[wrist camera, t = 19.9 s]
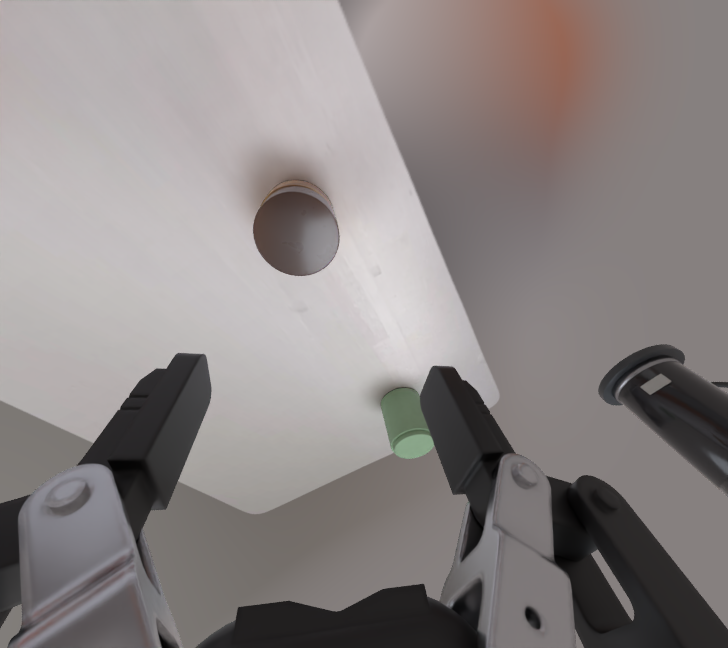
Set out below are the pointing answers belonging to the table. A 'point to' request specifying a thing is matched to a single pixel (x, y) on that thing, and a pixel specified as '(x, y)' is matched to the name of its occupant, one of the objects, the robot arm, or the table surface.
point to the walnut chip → (296, 231)
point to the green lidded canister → (406, 423)
